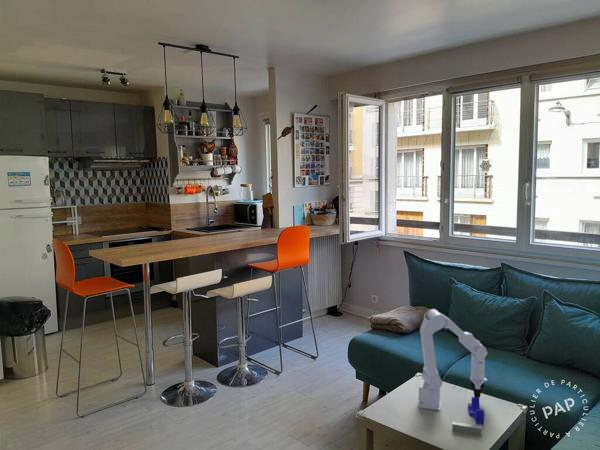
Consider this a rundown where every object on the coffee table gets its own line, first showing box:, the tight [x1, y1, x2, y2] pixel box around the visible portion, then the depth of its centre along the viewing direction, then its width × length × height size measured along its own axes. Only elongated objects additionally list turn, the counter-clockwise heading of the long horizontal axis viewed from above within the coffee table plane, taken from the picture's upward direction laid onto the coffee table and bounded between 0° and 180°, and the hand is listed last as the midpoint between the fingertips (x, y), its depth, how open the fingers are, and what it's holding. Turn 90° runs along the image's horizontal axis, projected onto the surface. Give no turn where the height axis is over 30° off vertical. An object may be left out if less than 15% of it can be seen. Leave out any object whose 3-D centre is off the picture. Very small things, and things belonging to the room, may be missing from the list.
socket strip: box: [451, 421, 482, 437], centre depth 187 cm, size 11×2×3 cm, turn 70°
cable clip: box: [467, 396, 485, 425], centre depth 198 cm, size 12×4×6 cm, turn 169°
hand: (477, 397), depth 209 cm, fingers closed
